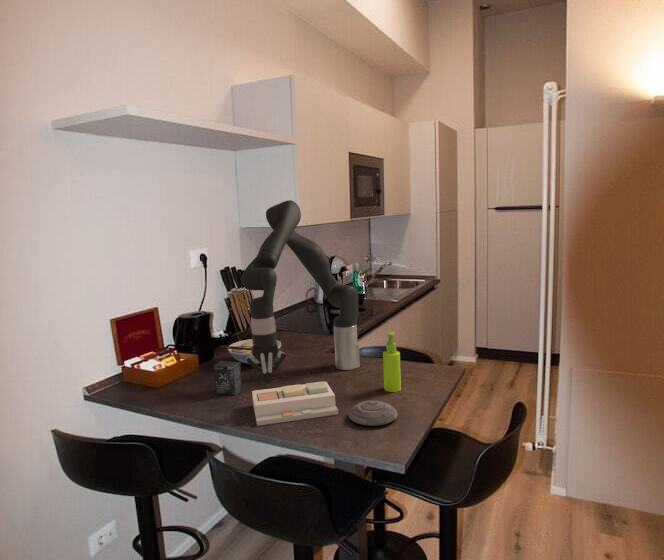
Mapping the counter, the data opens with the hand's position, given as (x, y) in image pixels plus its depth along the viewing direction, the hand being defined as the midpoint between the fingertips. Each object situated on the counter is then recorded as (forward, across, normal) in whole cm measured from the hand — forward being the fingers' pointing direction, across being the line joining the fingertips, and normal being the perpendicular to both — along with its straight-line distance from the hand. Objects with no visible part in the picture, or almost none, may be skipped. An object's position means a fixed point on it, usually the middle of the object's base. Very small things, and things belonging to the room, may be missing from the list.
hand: (268, 383), depth 160 cm
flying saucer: (+10, -29, +16) cm, 35 cm away
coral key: (+7, 0, 0) cm, 7 cm away
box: (+10, +12, -22) cm, 27 cm away
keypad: (+9, -7, +2) cm, 12 cm away
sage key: (+6, -16, 0) cm, 17 cm away
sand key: (+6, -8, 0) cm, 10 cm away
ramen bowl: (+10, 0, -54) cm, 55 cm away
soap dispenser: (+10, -44, -5) cm, 45 cm away
